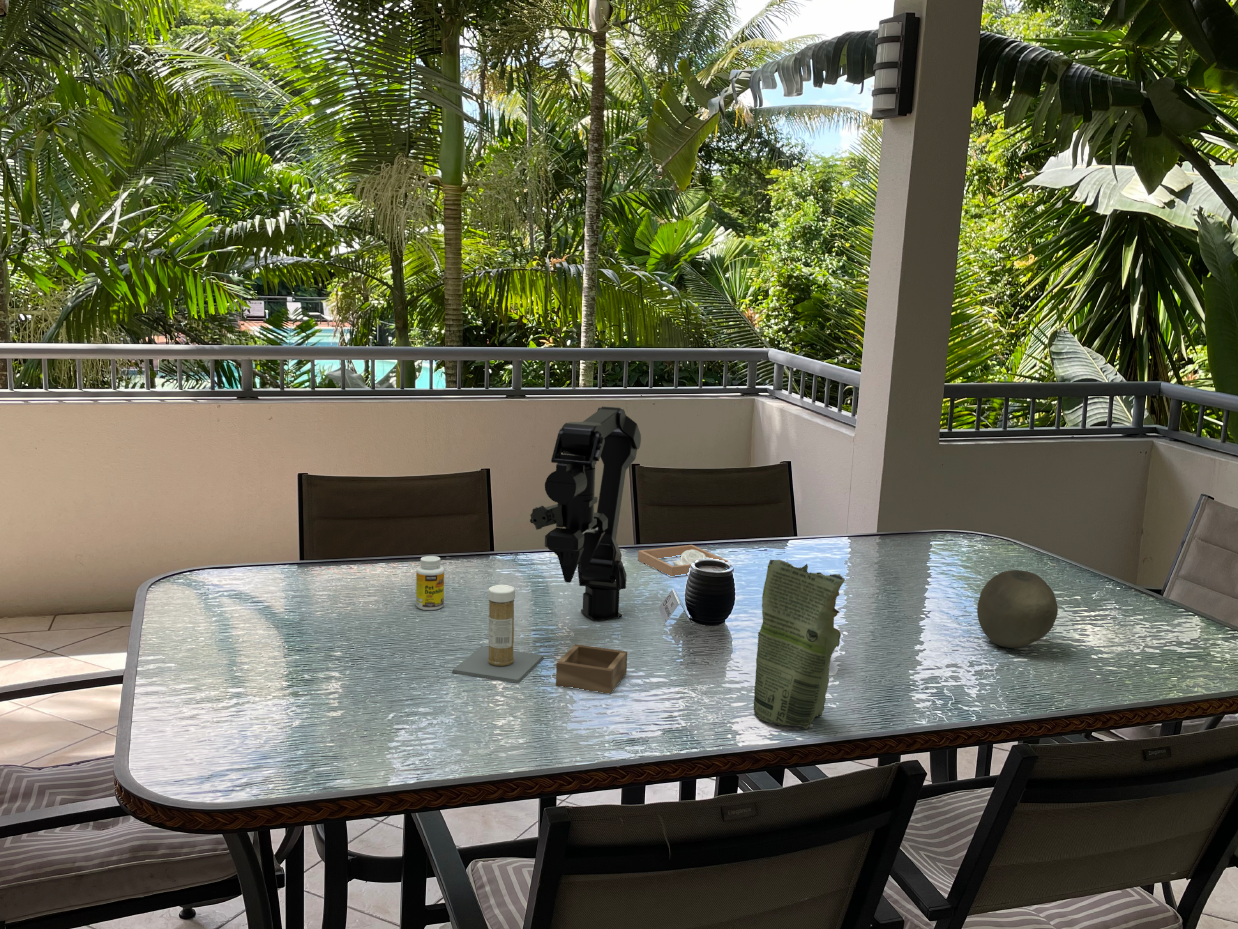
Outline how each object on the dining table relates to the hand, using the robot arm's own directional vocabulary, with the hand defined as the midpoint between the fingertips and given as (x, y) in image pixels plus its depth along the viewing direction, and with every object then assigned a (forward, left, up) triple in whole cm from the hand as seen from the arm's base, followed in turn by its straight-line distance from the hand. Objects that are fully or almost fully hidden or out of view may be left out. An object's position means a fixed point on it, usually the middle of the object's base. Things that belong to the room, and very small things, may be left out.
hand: (576, 575), depth 183 cm
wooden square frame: (-47, -37, -13) cm, 61 cm away
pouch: (-17, +43, -13) cm, 48 cm away
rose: (-49, -35, -14) cm, 62 cm away
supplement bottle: (+18, -30, -13) cm, 37 cm away
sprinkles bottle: (+17, +5, -13) cm, 22 cm away
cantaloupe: (-77, +35, -13) cm, 86 cm away
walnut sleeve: (+5, +17, -13) cm, 22 cm away
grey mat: (+17, +5, -13) cm, 22 cm away
